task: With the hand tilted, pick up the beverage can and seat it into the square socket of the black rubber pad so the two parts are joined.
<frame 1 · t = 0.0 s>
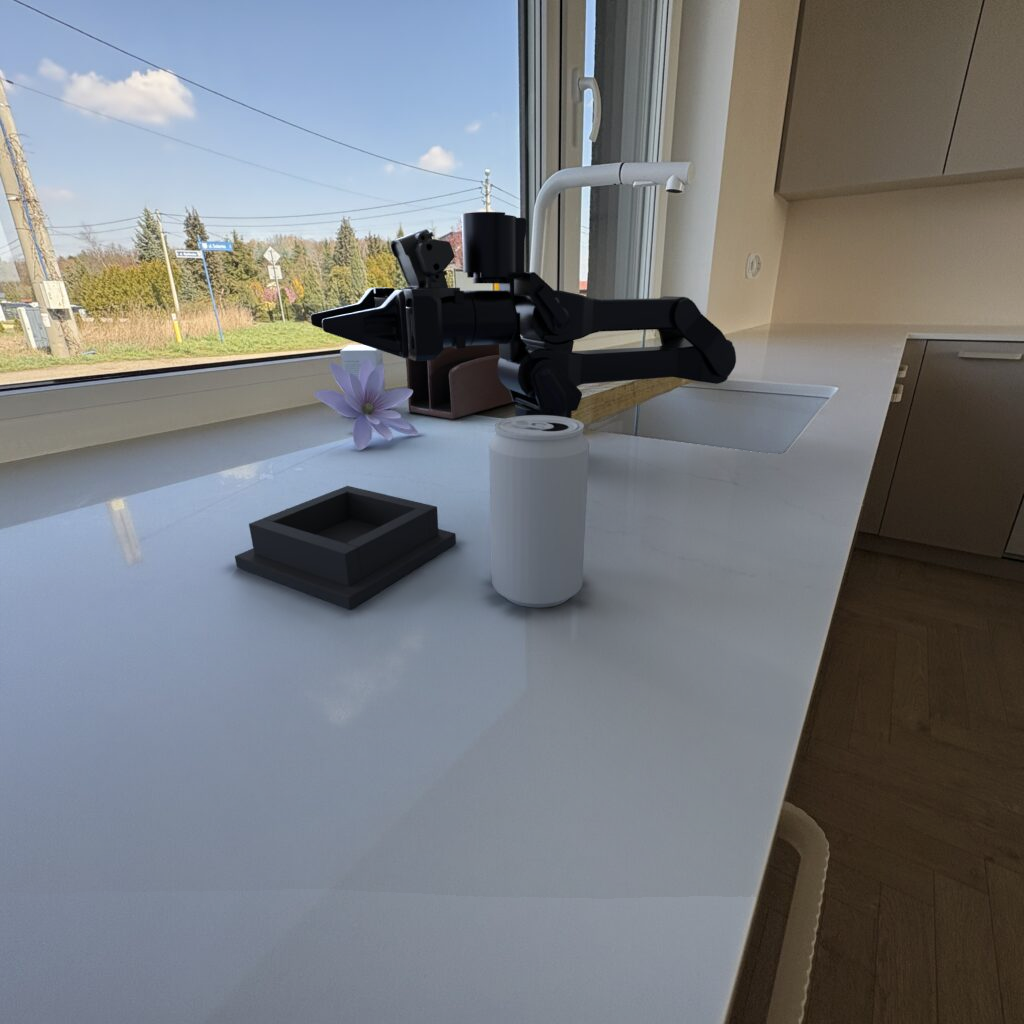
hand: (316, 322, 56), 17 cm above the worktop, tool horizontal, fingers open, 9 cm apart
small box: (367, 412, 95), on the worktop
beverage can: (536, 592, 40), on the worktop
water lily: (373, 441, 78), on the worktop
socket pad: (351, 555, 45), on the worktop
letter holder: (468, 407, 99), on the worktop
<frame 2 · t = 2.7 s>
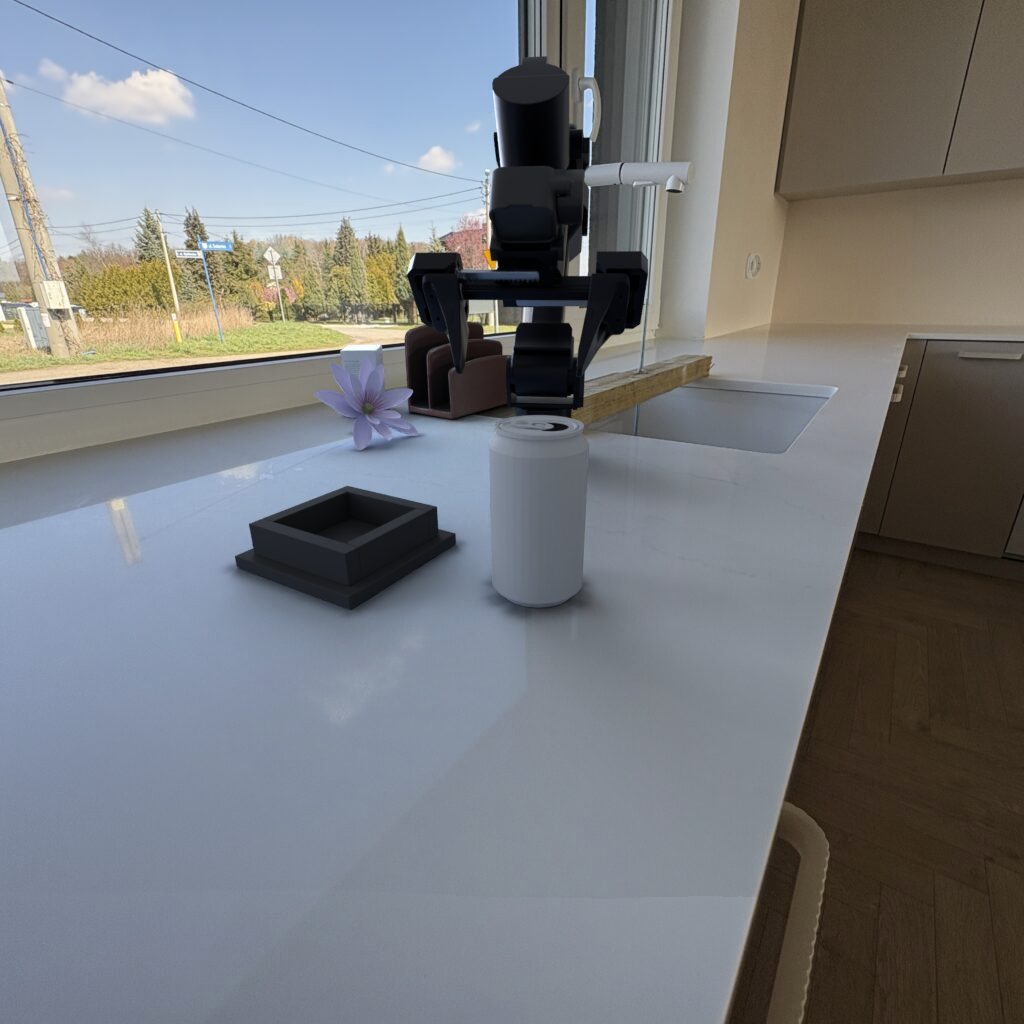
hand: (517, 371, 43), 14 cm above the worktop, tool tilted 50°, fingers open, 9 cm apart
nothing on the worktop moved.
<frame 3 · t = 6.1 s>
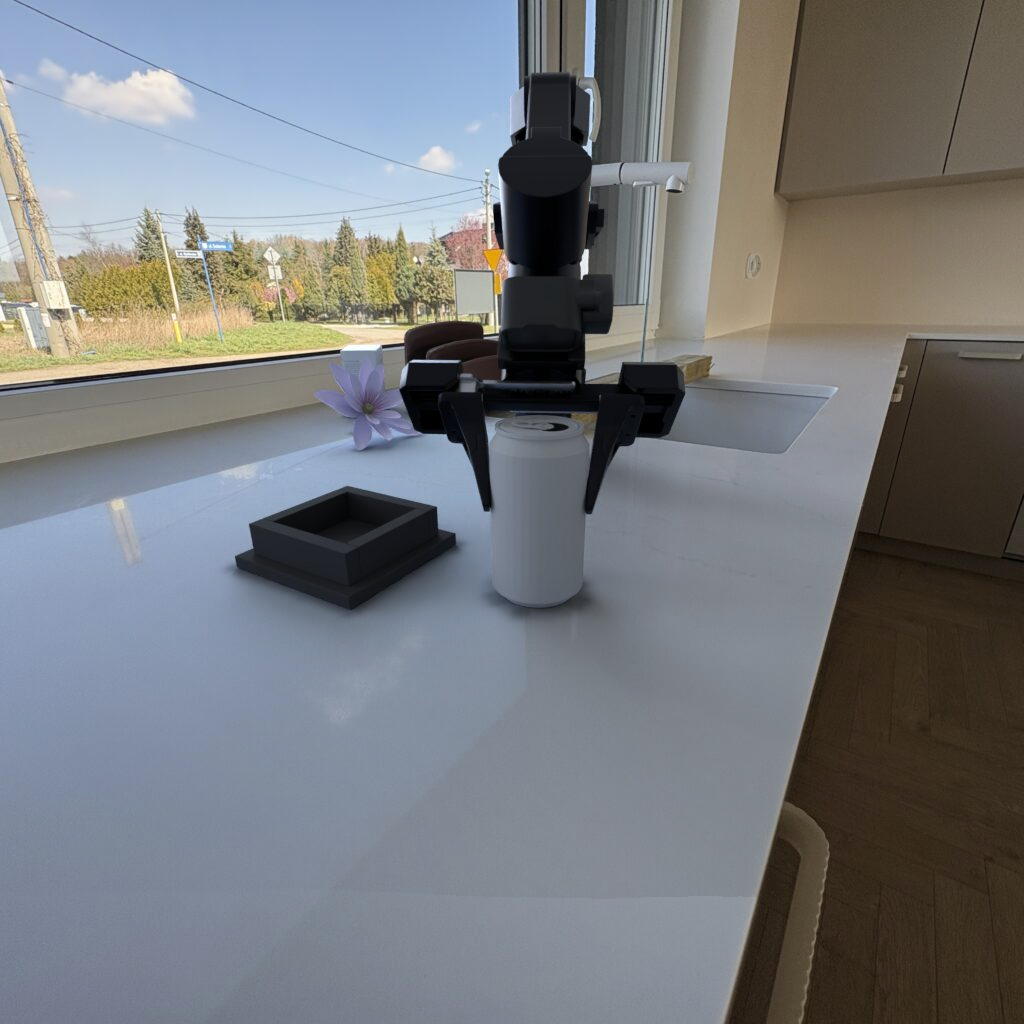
hand: (537, 510, 36), 7 cm above the worktop, tool tilted 45°, fingers closed on beverage can, 6 cm apart
beverage can: (536, 592, 40), on the worktop, touching gripper
everything else where it was.
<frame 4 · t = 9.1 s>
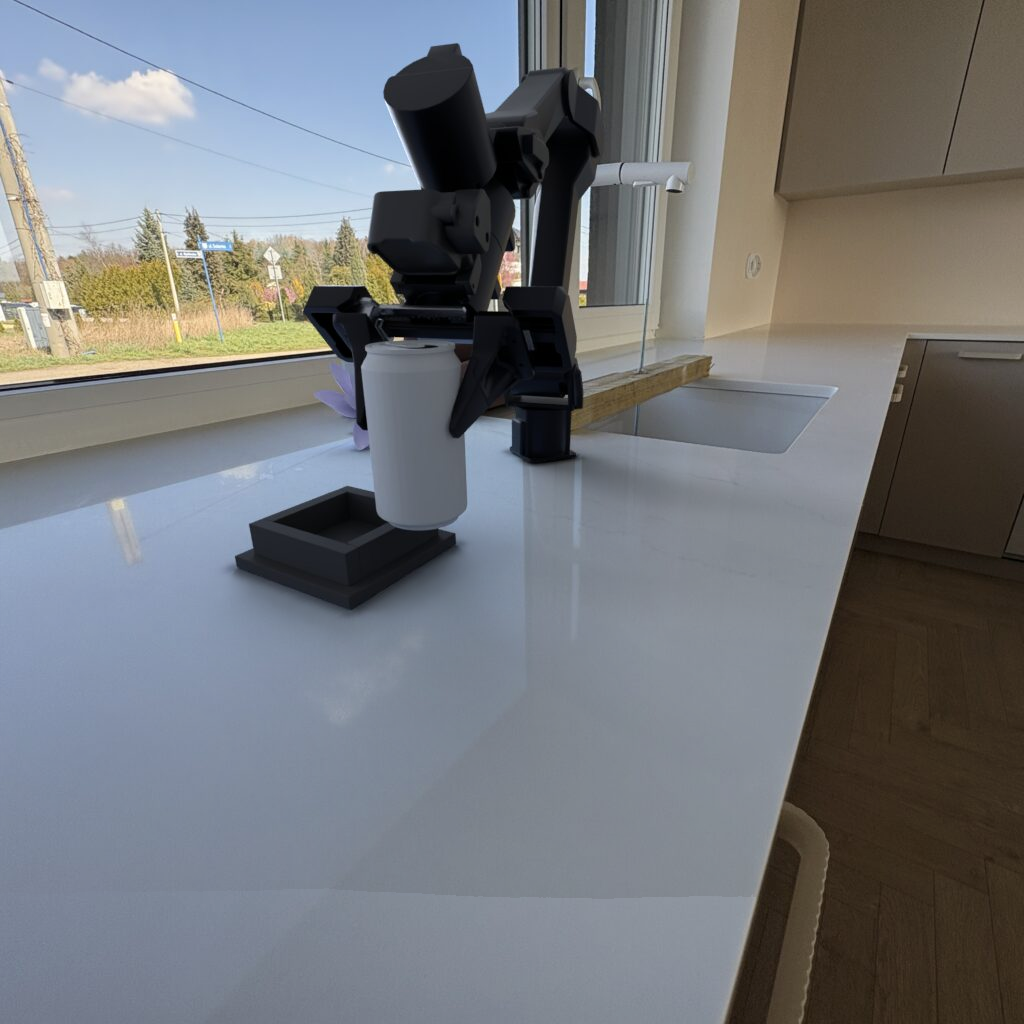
hand: (406, 431, 37), 11 cm above the worktop, tool tilted 45°, fingers closed on beverage can, 6 cm apart
beverage can: (423, 519, 41), point 4 cm above the worktop, touching gripper
everything else where it was.
when the fingers open (8 cm above the worktop, at t = 11.9 s): beverage can stays where it is, resting on socket pad.
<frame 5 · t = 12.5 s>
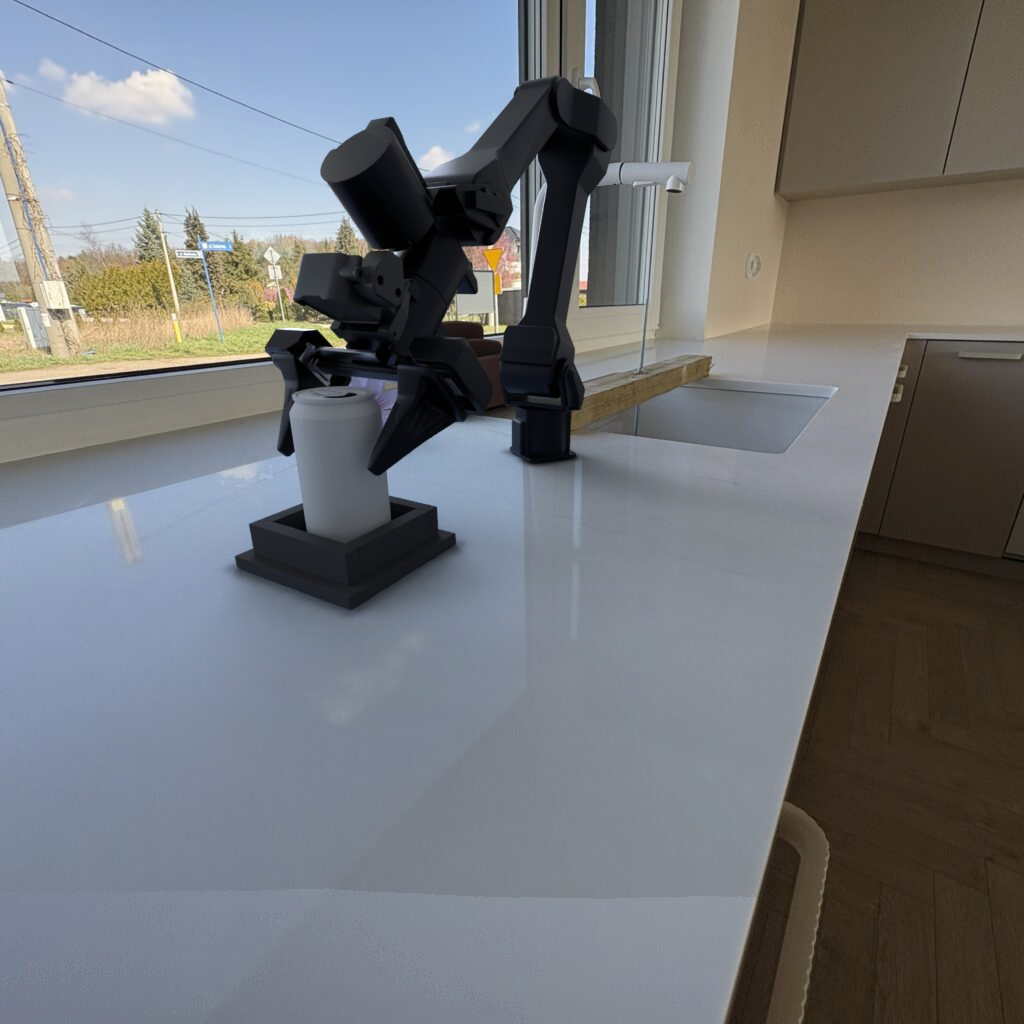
hand: (325, 462, 41), 8 cm above the worktop, tool tilted 45°, fingers open, 9 cm apart
beverage can: (352, 545, 45), point 1 cm above the worktop, touching socket pad
everything else where it was.
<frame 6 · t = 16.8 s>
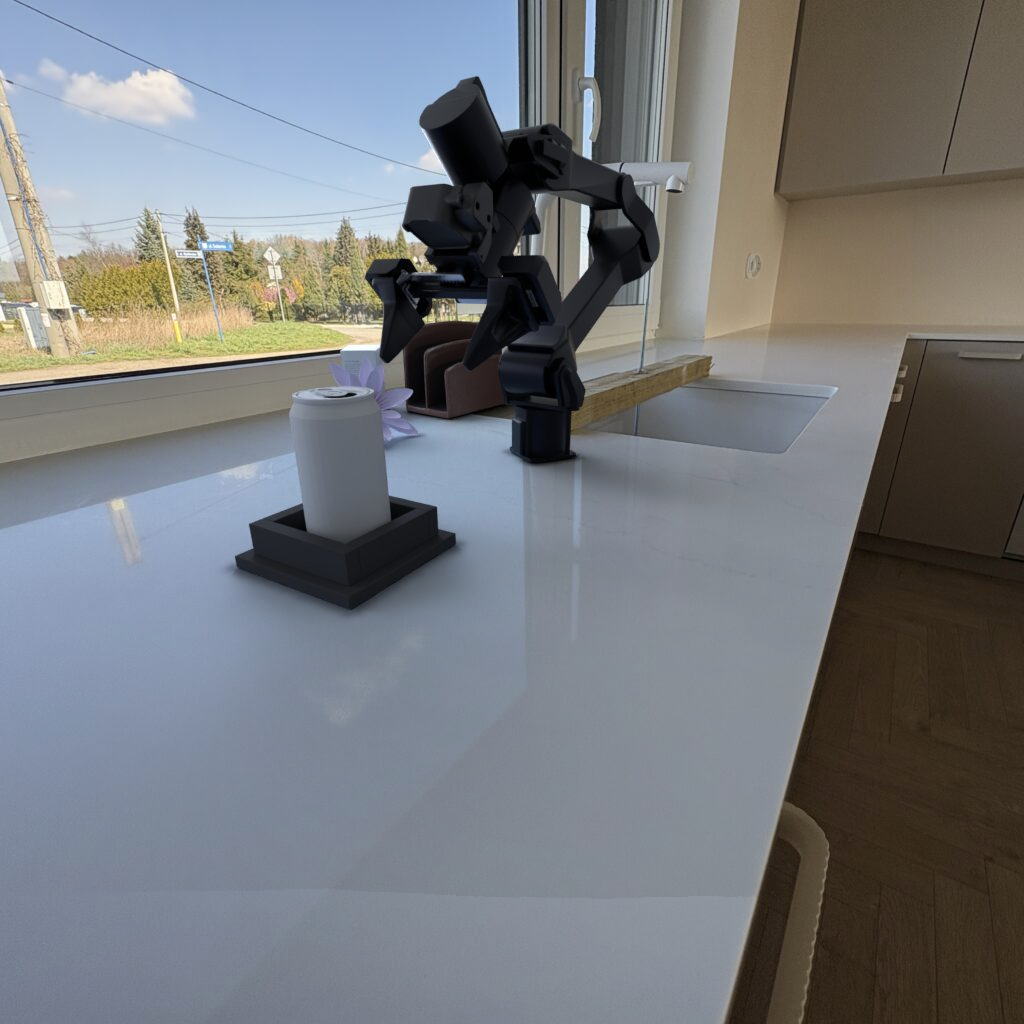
hand: (423, 363, 50), 14 cm above the worktop, tool tilted 45°, fingers open, 9 cm apart
nothing on the worktop moved.
at the end: beverage can 0.2 cm off-centre on the socket pad, point 0.8 cm above the socket pad's base; beverage can tilted 0°; the gripper is holding nothing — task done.
